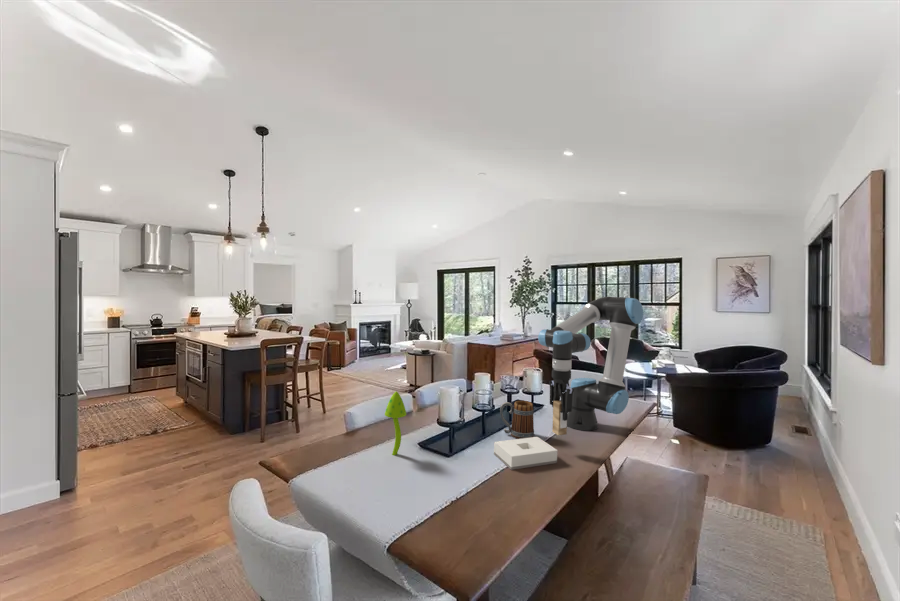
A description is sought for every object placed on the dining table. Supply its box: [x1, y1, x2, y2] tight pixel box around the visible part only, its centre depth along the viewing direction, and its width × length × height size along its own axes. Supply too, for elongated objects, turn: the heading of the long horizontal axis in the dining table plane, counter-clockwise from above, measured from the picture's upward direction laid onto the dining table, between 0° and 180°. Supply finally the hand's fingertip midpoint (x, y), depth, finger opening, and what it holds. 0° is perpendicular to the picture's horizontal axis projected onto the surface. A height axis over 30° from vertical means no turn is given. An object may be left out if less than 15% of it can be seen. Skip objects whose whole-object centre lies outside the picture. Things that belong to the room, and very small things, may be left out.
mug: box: [499, 400, 535, 439], centre depth 183 cm, size 16×11×15 cm
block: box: [493, 436, 558, 471], centre depth 160 cm, size 20×14×5 cm
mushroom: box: [384, 391, 407, 456], centre depth 159 cm, size 8×8×25 cm
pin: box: [551, 399, 568, 436], centre depth 166 cm, size 4×4×13 cm
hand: (559, 425), depth 166 cm, fingers closed on pin, 4 cm apart
